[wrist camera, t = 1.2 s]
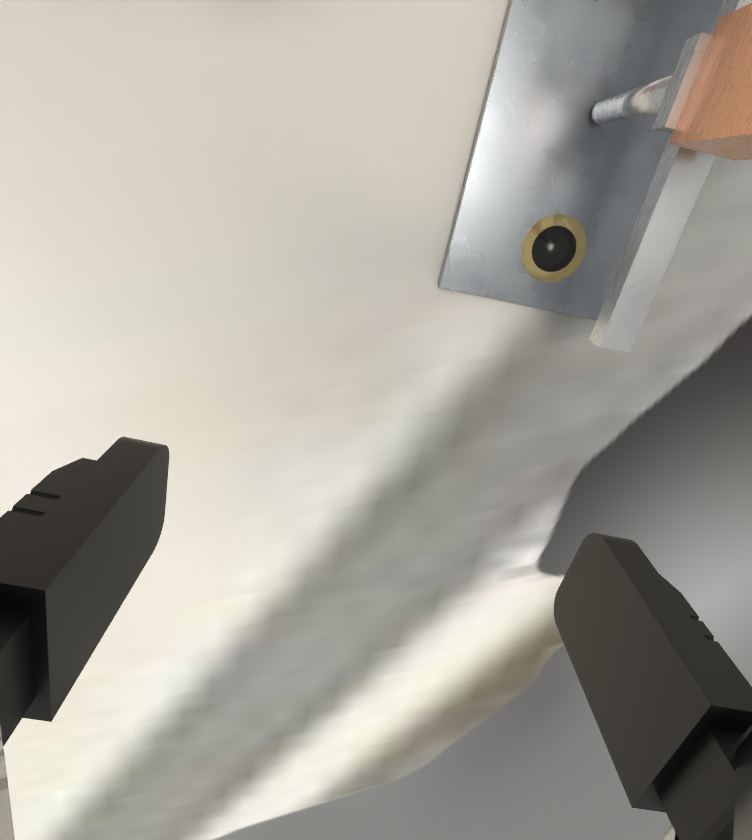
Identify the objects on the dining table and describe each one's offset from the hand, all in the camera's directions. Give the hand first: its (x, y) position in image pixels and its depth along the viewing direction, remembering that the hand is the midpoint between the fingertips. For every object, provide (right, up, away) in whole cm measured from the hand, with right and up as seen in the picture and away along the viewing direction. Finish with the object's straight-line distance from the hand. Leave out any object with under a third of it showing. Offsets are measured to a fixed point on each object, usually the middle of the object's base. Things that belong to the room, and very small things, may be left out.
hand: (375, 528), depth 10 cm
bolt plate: (+12, +19, +18) cm, 29 cm away
